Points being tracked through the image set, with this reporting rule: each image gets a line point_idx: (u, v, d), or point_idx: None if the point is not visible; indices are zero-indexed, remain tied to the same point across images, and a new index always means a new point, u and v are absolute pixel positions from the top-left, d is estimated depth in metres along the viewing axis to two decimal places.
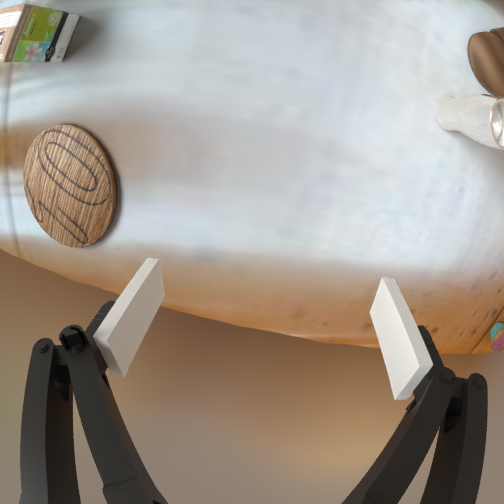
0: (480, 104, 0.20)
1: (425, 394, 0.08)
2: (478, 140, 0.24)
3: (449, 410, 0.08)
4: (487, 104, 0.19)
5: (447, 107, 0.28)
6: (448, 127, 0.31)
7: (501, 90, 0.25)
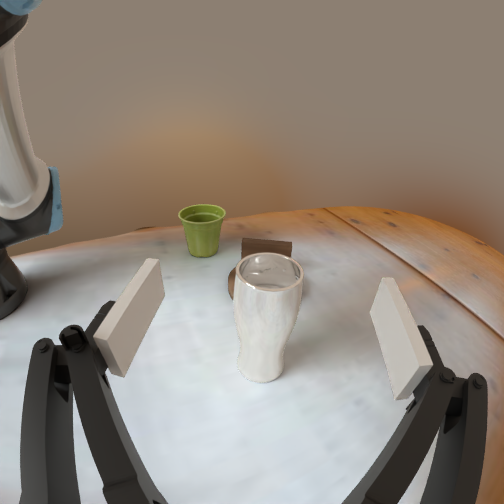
0: (234, 292, 0.27)
1: (425, 394, 0.08)
2: (275, 325, 0.26)
3: (449, 410, 0.08)
4: (235, 281, 0.27)
5: (242, 352, 0.31)
6: (268, 370, 0.31)
7: None
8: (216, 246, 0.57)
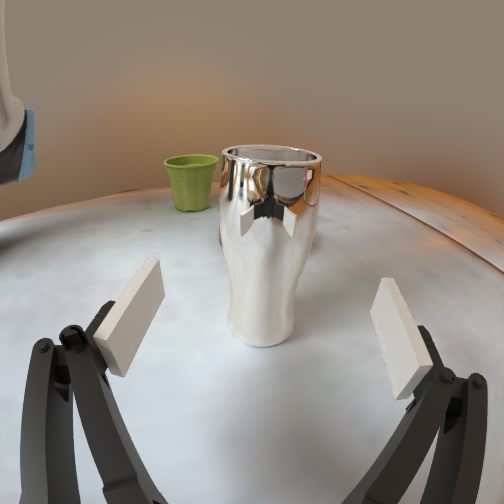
0: (220, 187, 0.18)
1: (425, 394, 0.08)
2: (284, 231, 0.17)
3: (449, 410, 0.08)
4: (221, 168, 0.18)
5: (233, 297, 0.22)
6: (271, 326, 0.22)
7: None
8: (207, 199, 0.48)
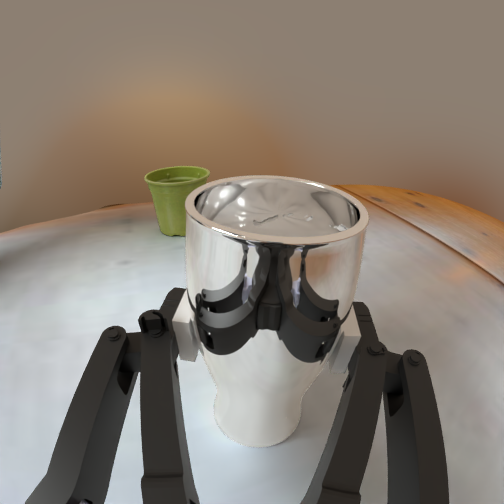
0: (185, 263, 0.10)
1: (356, 371, 0.10)
2: (296, 352, 0.09)
3: (385, 386, 0.10)
4: None
5: (219, 397, 0.14)
6: (272, 430, 0.14)
7: None
8: None
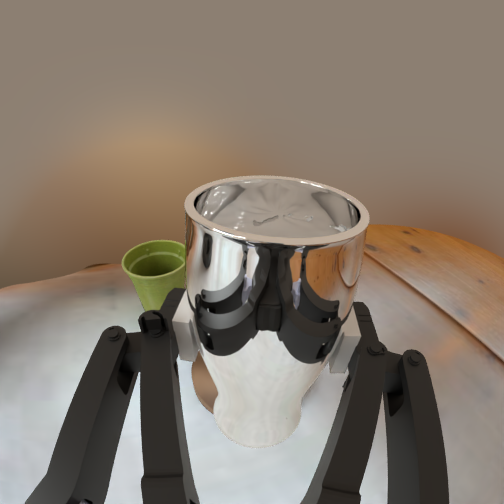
0: (185, 263, 0.10)
1: (356, 371, 0.10)
2: (296, 353, 0.09)
3: (385, 386, 0.10)
4: None
5: (219, 398, 0.14)
6: (272, 431, 0.14)
7: None
8: None
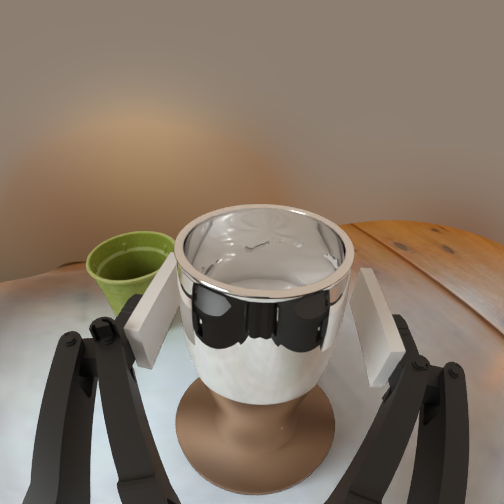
0: None
1: (399, 383, 0.09)
2: (283, 382, 0.09)
3: (425, 399, 0.09)
4: None
5: (218, 410, 0.15)
6: (268, 439, 0.15)
7: (308, 458, 0.15)
8: None
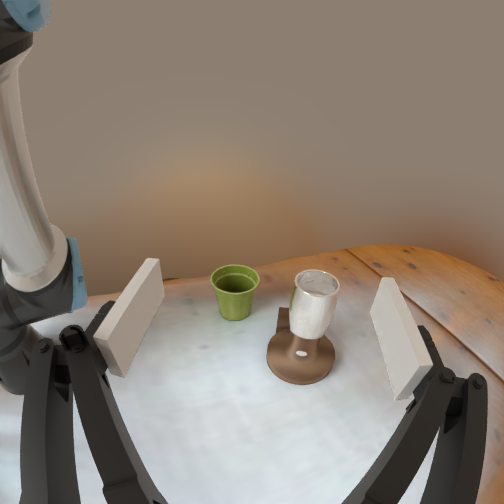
0: (293, 298, 0.39)
1: (425, 394, 0.08)
2: (321, 319, 0.38)
3: (449, 410, 0.08)
4: (294, 290, 0.39)
5: (292, 341, 0.43)
6: (310, 354, 0.43)
7: (325, 365, 0.43)
8: (249, 309, 0.56)
